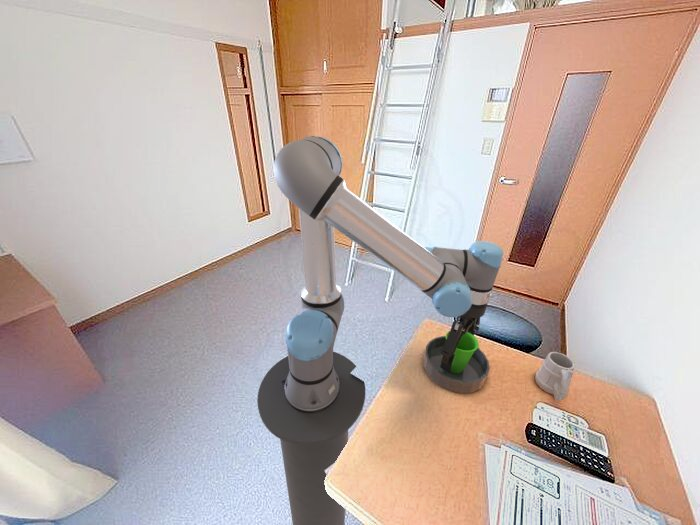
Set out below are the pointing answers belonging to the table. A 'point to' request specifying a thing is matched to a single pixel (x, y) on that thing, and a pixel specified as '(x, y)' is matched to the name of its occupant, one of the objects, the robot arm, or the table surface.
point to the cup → (463, 352)
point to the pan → (455, 382)
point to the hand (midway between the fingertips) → (455, 356)
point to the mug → (555, 374)
